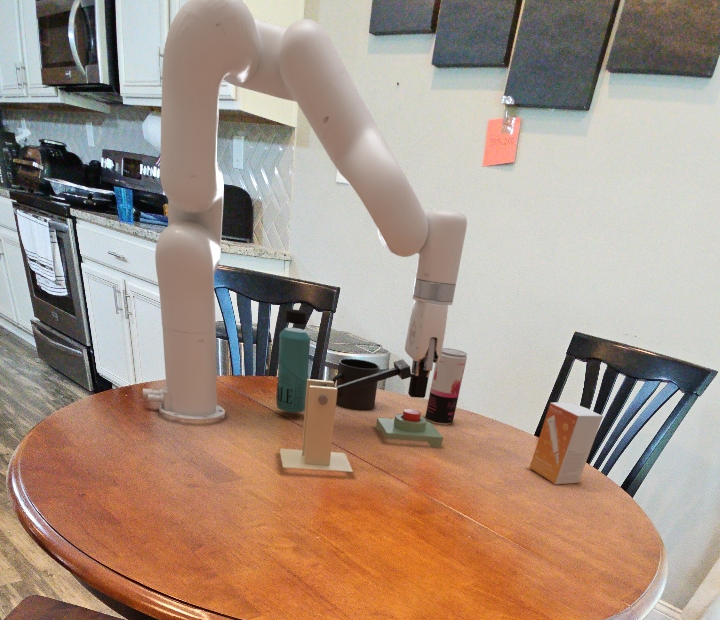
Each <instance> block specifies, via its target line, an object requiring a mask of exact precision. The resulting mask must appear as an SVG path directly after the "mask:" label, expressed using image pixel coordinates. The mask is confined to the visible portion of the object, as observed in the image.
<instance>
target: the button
mask: <svg viewBox="0 0 720 620" xmlns="http://www.w3.org/2000/svg"><path fill="white" fill-rule="evenodd" d="M402 414H403V417H402V419H404V420H407V421H412V422H419V421H420V417H421V415H422V413H421V411H420V410H417V409H412V408H406V409H403V412H402Z"/></svg>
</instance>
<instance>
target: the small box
mask: <svg viewBox="0 0 720 620" xmlns="http://www.w3.org/2000/svg"><path fill="white" fill-rule="evenodd" d="M548 405H549V406H548V409H547V412H546V414H545V418H544V420H543V425H542V427H541V431H540V434H539V437H538V440H537V444H536V447H535V450H534V453H533V457H532V459H531V462H530V466H529V469H530V470H532V471H534V472H535V473H536V474H539V475H540V476H541V477H542V478H543V477H544V478H545V479H546V480H548V481H549V482H551V483H552V484H554V485H565V484H578V483H579V482H580V480H581V477H582V474H583V472H584V469H585V466H586V463H587V460H588V458H589V455H590V453H591V450H592V448H593V445H594V442H595V438H596V437H597V433H598V431H599V428H600V425H601V423H602V420H603V418H604V415H602V414H599V413H598V412H595V411H593V410H592V409H590V408H588V407H584V406H582V405H579V404H577V403H576V402H566V401H565V402H564V401H563V402H555V401H554V402H549V404H548Z"/></svg>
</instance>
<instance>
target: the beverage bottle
mask: <svg viewBox="0 0 720 620" xmlns="http://www.w3.org/2000/svg"><path fill="white" fill-rule="evenodd" d="M284 319H285V320H284V321H285V322H286V323H289V324H293V325H294V324H295V325H307V311H303V310H300V309H292V308H291V309H286V311H285V317H284ZM278 337H279V340H278V341H279V345H278V346H279V347H278V354H277V358H278V361H277V381H276V382H277V384H276V397H275V398H276V399H275V401H276V402H275V404H276V407H277V409H279V410H280V411H284V412H287V413H304V412H305V401H306V388H307V379H309V378H308V377H309V373H308V372H309V364H310V363H309V361H310V349H311V348H310V347H311V339H312V338H311V336H310V333H308V331H306V330H305V329H302V328H297V327H285V328H283V329H282V330H281V331H280V332H279V335H278Z"/></svg>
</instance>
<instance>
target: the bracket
mask: <svg viewBox="0 0 720 620" xmlns="http://www.w3.org/2000/svg"><path fill="white" fill-rule="evenodd" d="M324 384H327V386H328V387H324V386H321V385H324ZM336 399H337V388H334V382H333V381H332V380H326V379H325V380H324V379H314V378H313V379H312V378H308V379H307V388H306V401H305V411H304V416H303V430H302V445H301V449H294V448H293V449H292V448H279V455H280V459H281V465H282V468H283V469H295V470H309V471H311V470H313V471H328V472H342V473H343V472H344V473H354V470H353V468H352V466H351V464H350V461H349V459H348V456H347V454H346V452H338V451H337V452H336V451H332V449H333V448H332V446H333V437H334V427H335V416H336V407H337V404H336Z"/></svg>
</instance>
